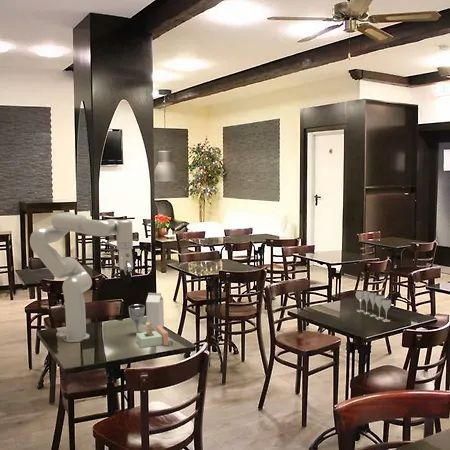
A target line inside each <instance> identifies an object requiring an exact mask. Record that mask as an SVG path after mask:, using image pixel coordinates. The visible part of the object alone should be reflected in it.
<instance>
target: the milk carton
mask: <svg viewBox="0 0 450 450" xmlns="http://www.w3.org/2000/svg"><path fill="white" fill-rule="evenodd" d="M147 294H148V295H147V297H146V301H145V311H146V314H145V315H146V322H152V331H156V326H161V327H162V328H163V329H164V327H165V321H164V320H165V319H164V315H165V313H164V312H165V311H164V298H163V296H162V292H161V293H160V292H159V293H158V292H147Z"/></svg>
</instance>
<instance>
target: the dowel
mask: <svg viewBox="0 0 450 450" xmlns="http://www.w3.org/2000/svg"><path fill="white" fill-rule="evenodd" d="M152 331H153V330H152V322H147V321H146V322H145V332H146V337H148V336H152Z"/></svg>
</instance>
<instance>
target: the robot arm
mask: <svg viewBox="0 0 450 450" xmlns="http://www.w3.org/2000/svg"><path fill="white" fill-rule="evenodd" d="M50 221H51V222H50V223H51V225H47V226H42V227H38V228H36V229H35V230H34V231H32V233H31V234H30V237H29V244H30V245H29V246H30V248H31V250H32V252H33V253H34V254H35V255H36V256H37V257H38V258H39V260H40V261H41V262H42V263H43V264H44V266H45V268H47V269H48V270H49V271H50V273H51V274H52V275H53V276H54V278H56V279H65V278H66V279H65V280H64V281H63V283H62V293H63V299H64V309H65V312H64V313H65V329H64V331H62V332H60V331H59V332H56V338H58V337H59V338H63V341H64V342H66V343H80V342H84V340H88V339H90V334H89V333H87V324H86V323H87V322H86V321H87V320H86V317H87V316H86V301H85V297H84V295H83V293H85V292H86V291H88V290H90V289H91V287H92V285H93V281H92V280H93V279H92V278H91V276H90V274H89V273H88V272H87V270H86V269H85V268H84V267H83V266H82V264H81V263H79V261H78V260H77V259H75V258H73V257H72V256H66V257H63V256H61V255H60V253H59V252H58V250H56V248H54V247H52V246H51V245H50V244H52V243H56V242H58V241H59V240H61V239H62V238H63V237H64V236H66V235H67V234H68V233H70V232H73V233H79V234H80V233H81V234H83V235H88V236H94V237H108V236H111V235H116V250H118V267H119V280H124V283H125V284H131V283H132V270H133V269H134V261H133V251H132V250H133V249H134V244H133V243H134V241H133V240H134V239H133V221H132V220H130V219H115V218H109V219H104V220H98V219H90V218H87V217H86V216H85V215H83V214H74V213H73V212H70V211H67V212H58V213H56V214H54V215H53V216H52V218H51V220H50Z"/></svg>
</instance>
